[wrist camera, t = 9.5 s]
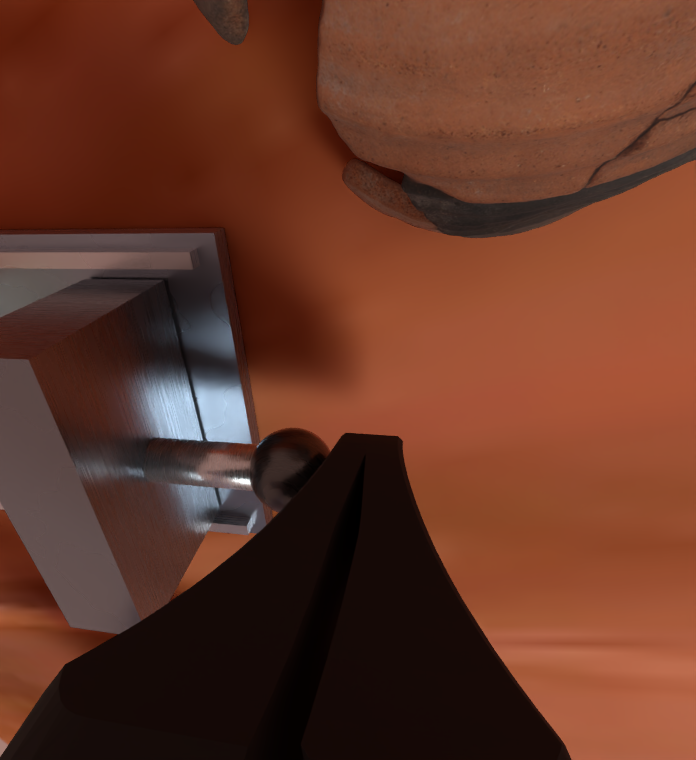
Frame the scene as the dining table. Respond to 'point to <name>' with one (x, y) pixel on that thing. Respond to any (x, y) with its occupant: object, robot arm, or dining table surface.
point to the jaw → (118, 451)
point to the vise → (189, 310)
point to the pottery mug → (500, 102)
